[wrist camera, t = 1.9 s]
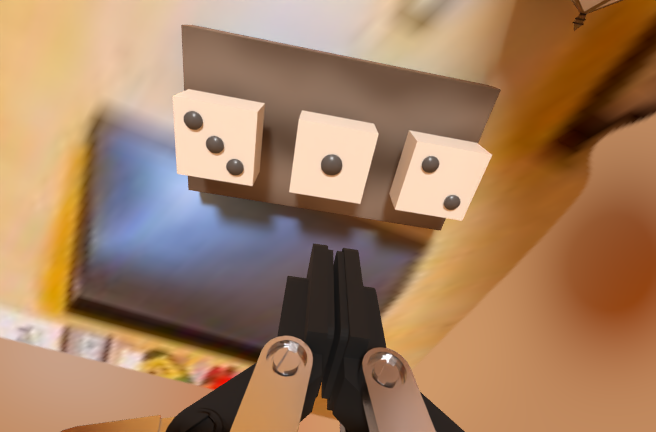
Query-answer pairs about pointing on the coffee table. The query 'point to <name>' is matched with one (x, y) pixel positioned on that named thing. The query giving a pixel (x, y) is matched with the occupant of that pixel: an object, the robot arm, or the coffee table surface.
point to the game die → (589, 8)
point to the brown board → (330, 112)
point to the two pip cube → (438, 175)
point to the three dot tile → (218, 136)
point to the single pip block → (332, 157)
